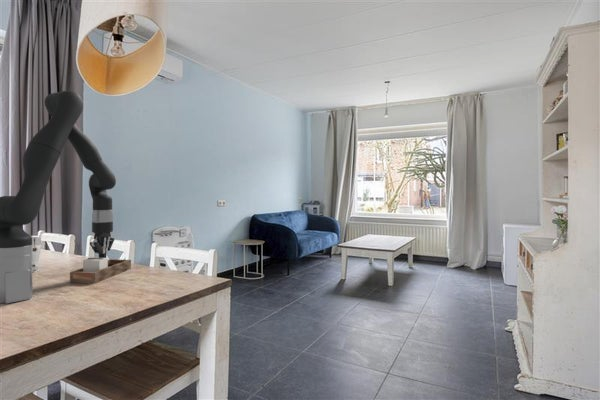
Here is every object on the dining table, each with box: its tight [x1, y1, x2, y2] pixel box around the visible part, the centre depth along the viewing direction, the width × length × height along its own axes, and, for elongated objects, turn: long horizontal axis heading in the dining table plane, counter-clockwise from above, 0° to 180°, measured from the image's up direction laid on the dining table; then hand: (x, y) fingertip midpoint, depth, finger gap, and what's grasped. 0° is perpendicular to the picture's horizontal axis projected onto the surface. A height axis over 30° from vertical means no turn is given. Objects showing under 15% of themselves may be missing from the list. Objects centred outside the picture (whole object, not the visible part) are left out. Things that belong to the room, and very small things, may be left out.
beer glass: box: [30, 235, 42, 273], centre depth 143 cm, size 7×7×15 cm
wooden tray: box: [69, 258, 132, 284], centre depth 139 cm, size 24×10×4 cm, turn 177°
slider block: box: [82, 257, 109, 272], centre depth 134 cm, size 5×7×6 cm
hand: (102, 262), depth 139 cm, fingers closed
